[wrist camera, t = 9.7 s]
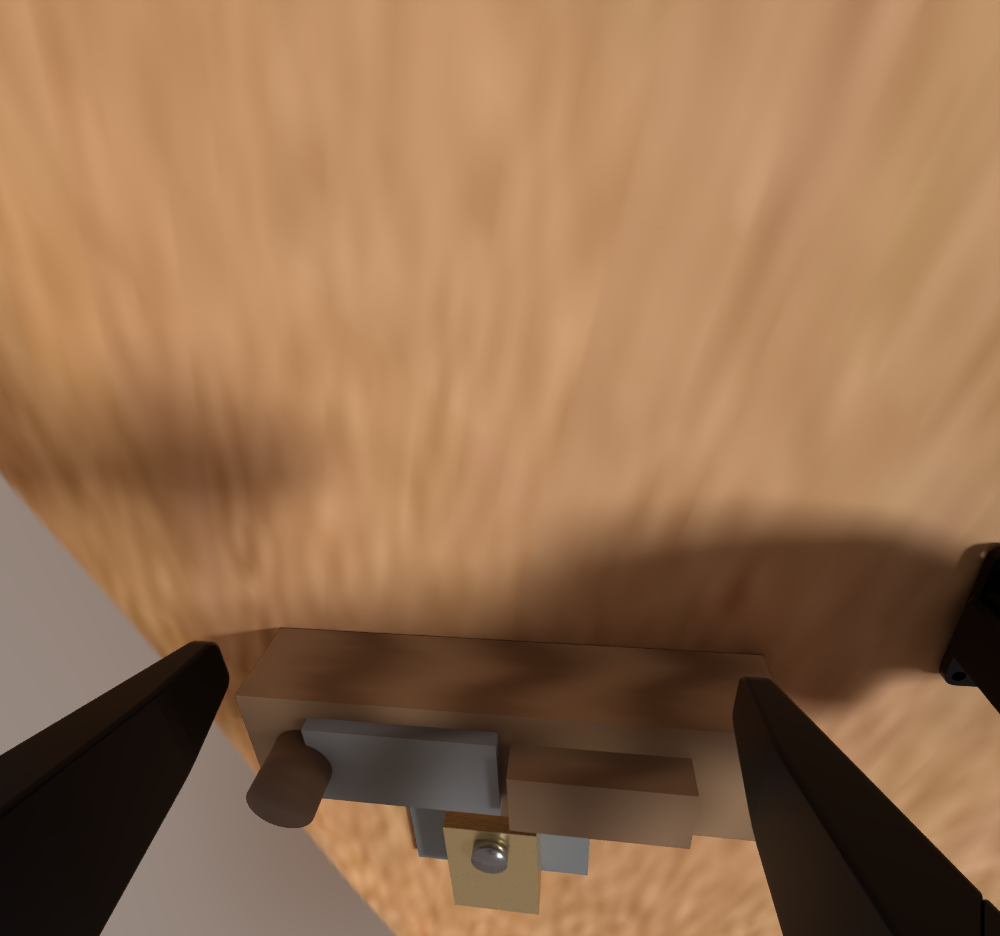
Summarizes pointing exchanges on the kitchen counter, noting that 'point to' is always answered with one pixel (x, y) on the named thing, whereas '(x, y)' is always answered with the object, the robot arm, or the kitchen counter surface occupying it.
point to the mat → (554, 849)
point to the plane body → (501, 733)
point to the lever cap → (492, 863)
